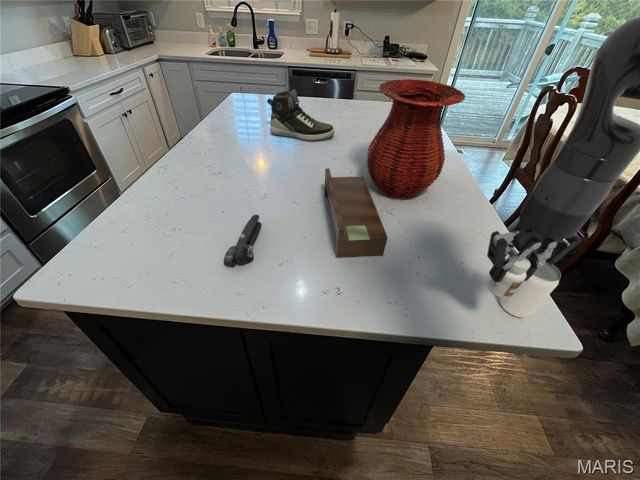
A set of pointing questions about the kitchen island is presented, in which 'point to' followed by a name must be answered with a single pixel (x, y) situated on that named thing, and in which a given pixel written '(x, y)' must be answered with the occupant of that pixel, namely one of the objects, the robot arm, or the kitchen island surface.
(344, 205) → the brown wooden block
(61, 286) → the kitchen island surface
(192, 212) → the kitchen island surface
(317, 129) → the athletic shoe
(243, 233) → the can opener
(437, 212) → the kitchen island surface
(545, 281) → the can
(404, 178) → the vase
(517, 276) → the pill bottle
